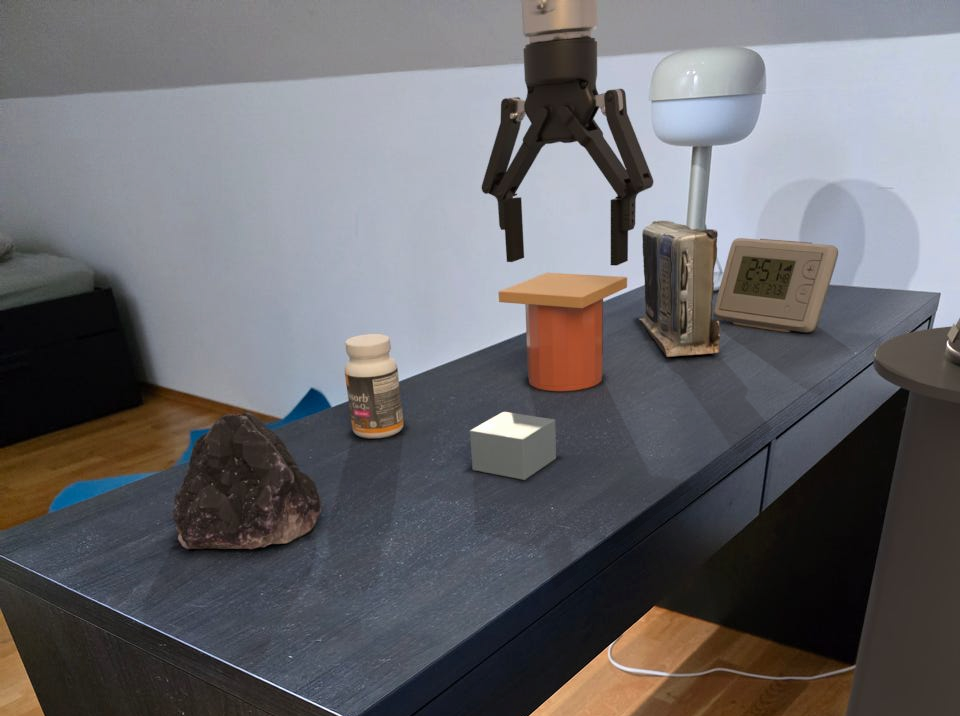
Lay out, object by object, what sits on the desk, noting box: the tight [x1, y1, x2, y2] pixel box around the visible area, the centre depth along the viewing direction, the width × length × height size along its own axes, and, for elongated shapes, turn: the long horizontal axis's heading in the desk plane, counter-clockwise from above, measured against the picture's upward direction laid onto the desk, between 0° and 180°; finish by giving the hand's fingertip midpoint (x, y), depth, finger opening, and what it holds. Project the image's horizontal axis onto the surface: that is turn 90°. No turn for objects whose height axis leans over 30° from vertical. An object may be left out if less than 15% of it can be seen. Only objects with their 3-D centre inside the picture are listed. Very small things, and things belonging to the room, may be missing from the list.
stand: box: [469, 411, 557, 481], centre depth 85 cm, size 6×6×4 cm
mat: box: [498, 272, 628, 308], centre depth 103 cm, size 11×11×1 cm
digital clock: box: [713, 237, 839, 333], centre depth 121 cm, size 16×9×11 cm, turn 31°
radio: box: [638, 220, 721, 358], centre depth 117 cm, size 23×9×15 cm, turn 175°
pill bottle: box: [344, 333, 404, 440], centre depth 94 cm, size 6×6×10 cm
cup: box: [524, 298, 604, 392], centre depth 106 cm, size 9×9×10 cm
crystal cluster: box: [172, 412, 322, 550], centre depth 76 cm, size 13×14×10 cm
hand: (565, 261), depth 101 cm, fingers open, 13 cm apart
